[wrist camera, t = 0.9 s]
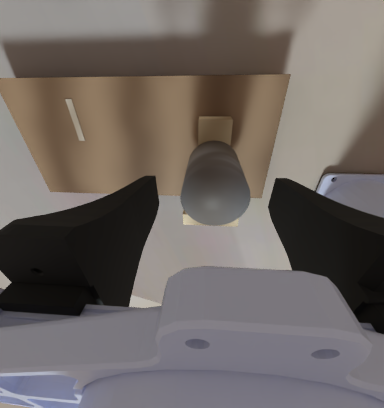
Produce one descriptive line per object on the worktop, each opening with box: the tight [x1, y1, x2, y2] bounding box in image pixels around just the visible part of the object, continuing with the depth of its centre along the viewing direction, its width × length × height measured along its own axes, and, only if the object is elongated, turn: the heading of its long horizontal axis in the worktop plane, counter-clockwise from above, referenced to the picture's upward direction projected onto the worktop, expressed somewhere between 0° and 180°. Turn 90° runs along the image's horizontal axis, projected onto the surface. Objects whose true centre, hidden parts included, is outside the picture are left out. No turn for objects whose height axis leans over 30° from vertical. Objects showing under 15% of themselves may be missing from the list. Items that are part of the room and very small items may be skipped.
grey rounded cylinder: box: [181, 116, 251, 227], centre depth 15 cm, size 5×9×8 cm, turn 1°
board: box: [0, 74, 291, 198], centre depth 17 cm, size 22×10×2 cm, turn 91°
